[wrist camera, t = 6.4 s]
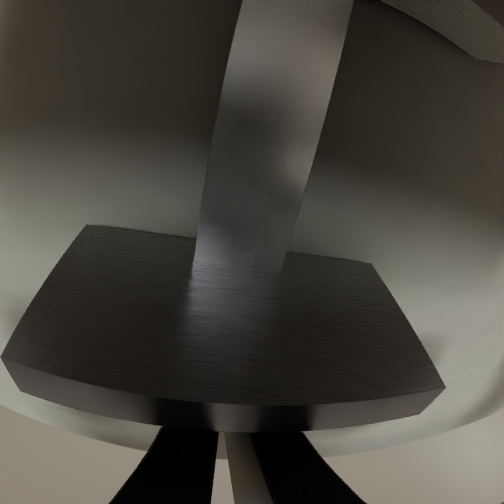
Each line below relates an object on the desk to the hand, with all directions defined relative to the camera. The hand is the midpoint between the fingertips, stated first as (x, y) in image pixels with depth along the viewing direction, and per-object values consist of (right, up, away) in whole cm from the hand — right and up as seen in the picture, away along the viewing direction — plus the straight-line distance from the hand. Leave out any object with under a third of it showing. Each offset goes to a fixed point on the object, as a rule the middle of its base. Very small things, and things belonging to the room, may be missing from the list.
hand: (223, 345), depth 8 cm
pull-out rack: (+2, +9, -4) cm, 10 cm away
